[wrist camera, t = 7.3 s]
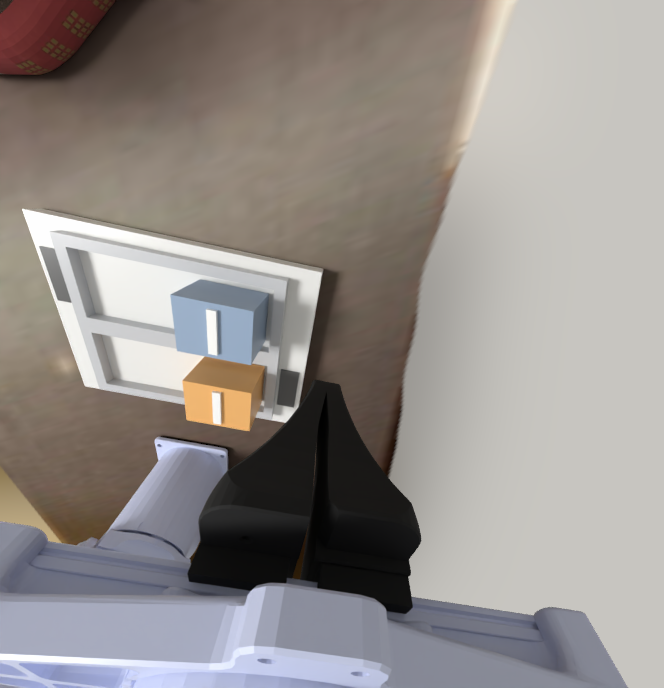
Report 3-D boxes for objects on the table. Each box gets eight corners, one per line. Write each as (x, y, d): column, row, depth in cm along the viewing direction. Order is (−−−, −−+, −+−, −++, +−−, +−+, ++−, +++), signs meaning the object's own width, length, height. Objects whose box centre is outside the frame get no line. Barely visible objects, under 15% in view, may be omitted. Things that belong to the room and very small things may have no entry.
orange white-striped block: (262, 401, 24) (248, 433, 20) (207, 391, 23) (185, 421, 20) (264, 366, 22) (250, 395, 18) (205, 355, 21) (180, 382, 18)
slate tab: (265, 341, 20) (250, 366, 17) (202, 328, 20) (175, 352, 17) (269, 293, 19) (252, 312, 15) (199, 279, 18) (168, 295, 15)
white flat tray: (297, 415, 26) (293, 430, 24) (96, 378, 25) (77, 391, 23) (323, 268, 19) (321, 275, 17) (41, 208, 18) (7, 209, 16)
